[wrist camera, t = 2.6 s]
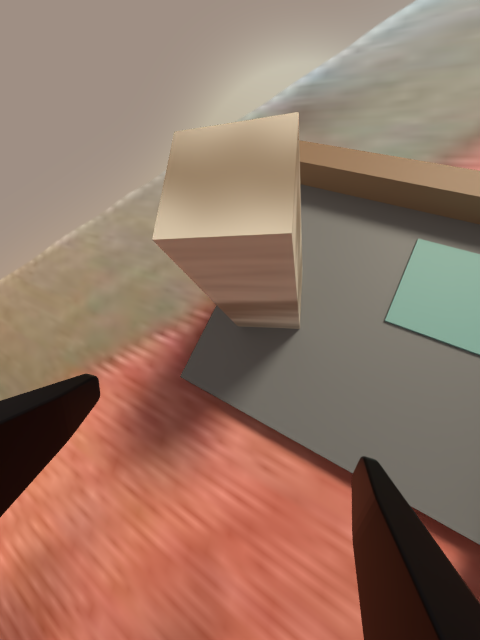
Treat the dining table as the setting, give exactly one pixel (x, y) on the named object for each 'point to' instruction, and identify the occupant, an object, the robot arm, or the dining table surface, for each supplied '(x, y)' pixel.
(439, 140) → the dining table surface
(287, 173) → the cream block
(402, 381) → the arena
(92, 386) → the robot arm
